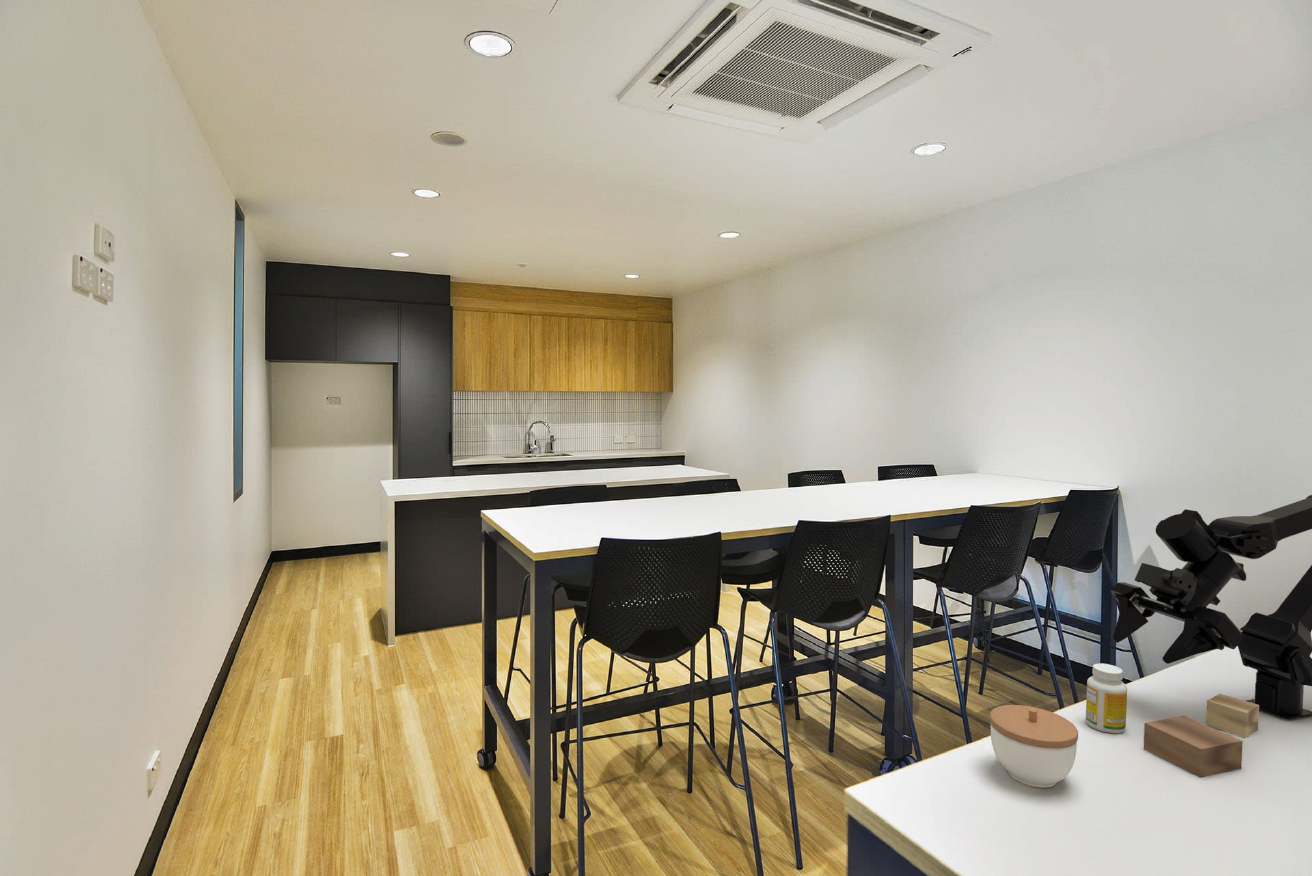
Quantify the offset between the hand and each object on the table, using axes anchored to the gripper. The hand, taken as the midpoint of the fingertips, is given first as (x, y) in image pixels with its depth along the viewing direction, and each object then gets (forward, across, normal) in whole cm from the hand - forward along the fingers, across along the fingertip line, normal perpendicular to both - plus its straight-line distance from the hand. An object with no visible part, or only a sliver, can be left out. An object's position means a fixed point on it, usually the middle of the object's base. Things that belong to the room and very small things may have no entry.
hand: (1138, 650), depth 107 cm
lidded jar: (+28, +11, -11) cm, 32 cm away
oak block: (-1, +4, +18) cm, 19 cm away
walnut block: (+9, +11, +8) cm, 16 cm away
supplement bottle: (+13, 0, +5) cm, 14 cm away
